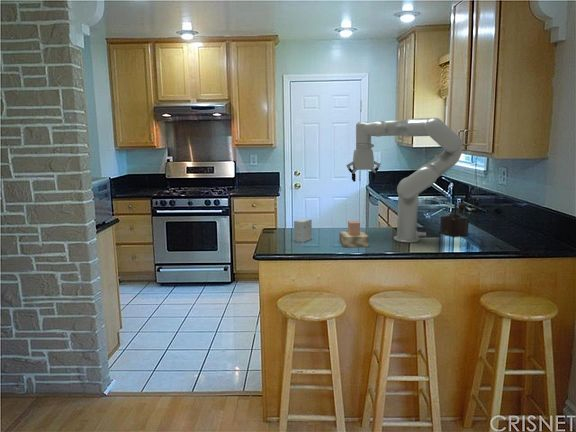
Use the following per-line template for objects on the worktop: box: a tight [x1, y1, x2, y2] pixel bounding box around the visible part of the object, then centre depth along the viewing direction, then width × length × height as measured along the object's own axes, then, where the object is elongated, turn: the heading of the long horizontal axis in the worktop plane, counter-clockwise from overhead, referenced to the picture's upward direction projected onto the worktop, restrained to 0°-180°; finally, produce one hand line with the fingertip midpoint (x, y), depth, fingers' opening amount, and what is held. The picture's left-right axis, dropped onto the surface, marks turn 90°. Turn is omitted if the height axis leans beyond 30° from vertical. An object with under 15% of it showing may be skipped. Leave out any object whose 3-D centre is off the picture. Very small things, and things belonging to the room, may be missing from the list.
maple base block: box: [339, 230, 370, 248], centre depth 226 cm, size 12×12×5 cm
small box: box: [293, 217, 313, 243], centre depth 235 cm, size 8×6×10 cm
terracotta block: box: [347, 220, 361, 235], centre depth 225 cm, size 5×5×6 cm
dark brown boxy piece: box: [439, 202, 470, 238], centre depth 240 cm, size 16×11×18 cm
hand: (363, 181), depth 234 cm, fingers open, 9 cm apart
